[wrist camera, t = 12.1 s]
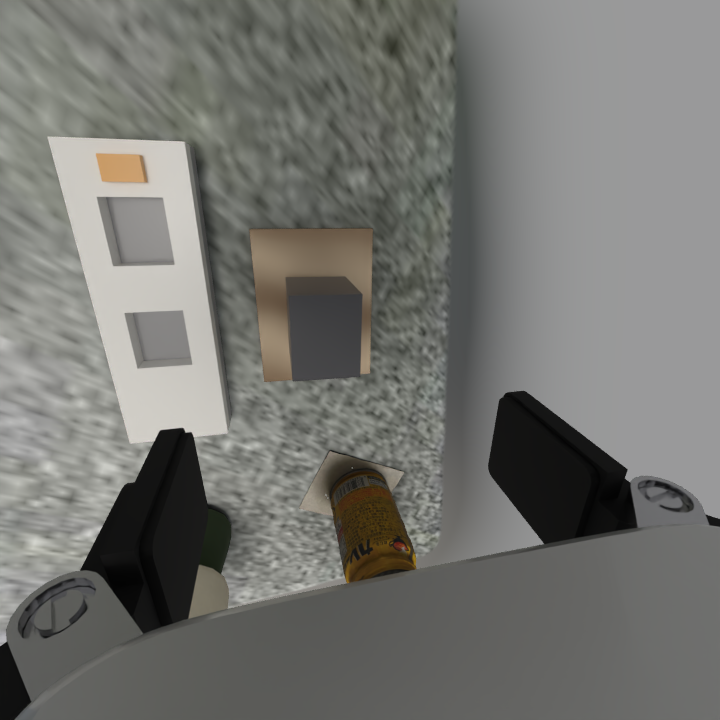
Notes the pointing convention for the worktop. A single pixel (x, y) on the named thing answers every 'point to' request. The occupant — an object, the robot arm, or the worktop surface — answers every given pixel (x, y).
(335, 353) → the block
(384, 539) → the condiment
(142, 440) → the power strip
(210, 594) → the character mug
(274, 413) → the worktop surface
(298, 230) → the cork pad
